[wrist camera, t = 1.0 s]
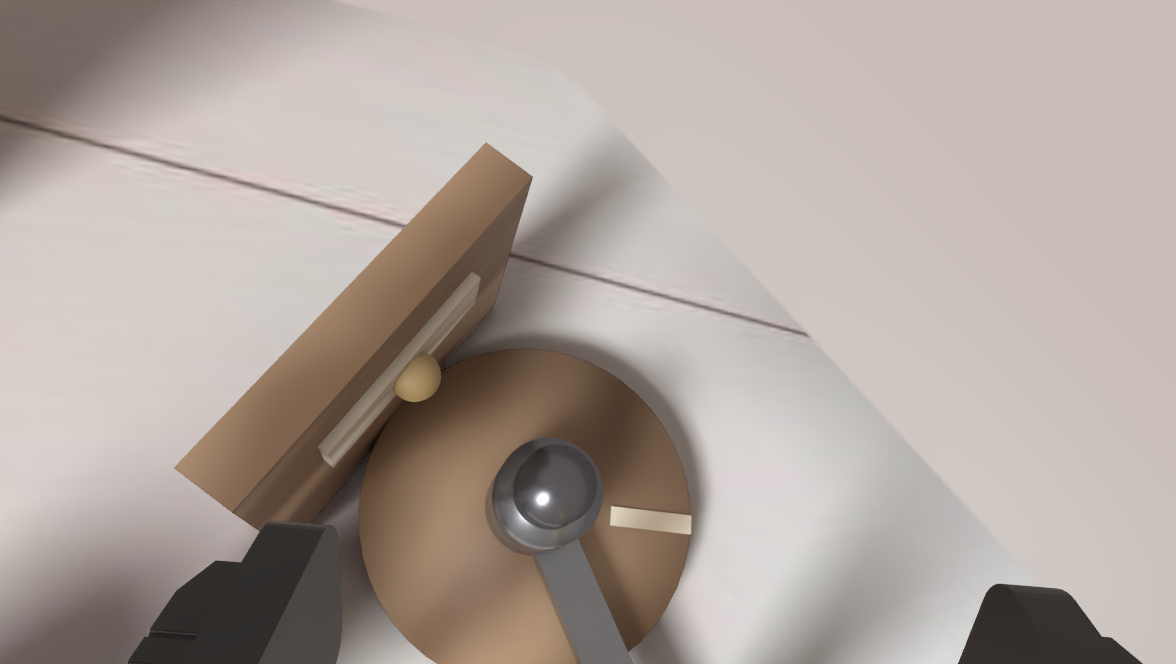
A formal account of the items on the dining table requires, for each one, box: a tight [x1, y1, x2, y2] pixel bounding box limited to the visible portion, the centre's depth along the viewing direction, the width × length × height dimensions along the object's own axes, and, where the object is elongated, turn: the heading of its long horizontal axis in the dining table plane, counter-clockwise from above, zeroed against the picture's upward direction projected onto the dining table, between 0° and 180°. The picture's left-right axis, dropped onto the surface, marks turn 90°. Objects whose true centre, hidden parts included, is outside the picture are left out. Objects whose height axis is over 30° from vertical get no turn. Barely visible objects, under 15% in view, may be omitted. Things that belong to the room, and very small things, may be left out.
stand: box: [174, 143, 692, 664], centre depth 30 cm, size 16×14×12 cm
